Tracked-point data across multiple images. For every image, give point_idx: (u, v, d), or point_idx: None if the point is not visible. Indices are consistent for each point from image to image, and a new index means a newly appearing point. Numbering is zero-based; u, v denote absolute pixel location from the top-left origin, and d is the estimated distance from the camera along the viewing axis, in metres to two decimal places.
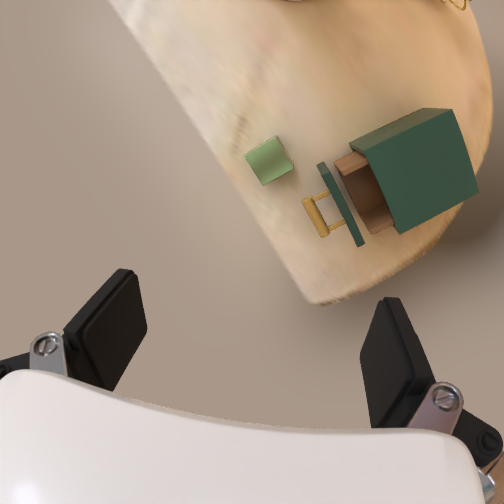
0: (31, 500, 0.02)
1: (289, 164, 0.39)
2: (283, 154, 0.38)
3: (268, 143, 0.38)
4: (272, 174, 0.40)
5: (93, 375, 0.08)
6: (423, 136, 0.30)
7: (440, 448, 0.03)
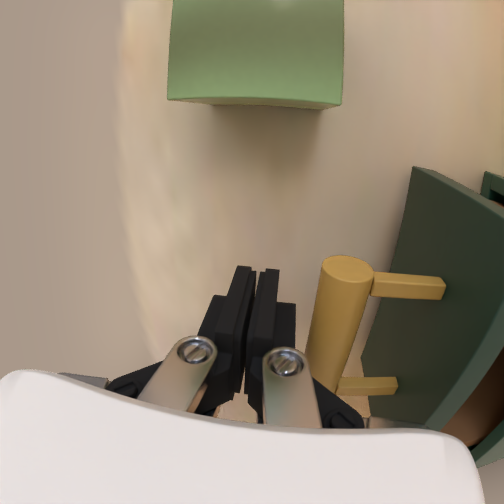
0: (31, 500, 0.02)
1: (336, 77, 0.07)
2: (337, 27, 0.06)
3: None
4: (234, 73, 0.07)
5: (232, 376, 0.08)
6: None
7: (440, 448, 0.03)
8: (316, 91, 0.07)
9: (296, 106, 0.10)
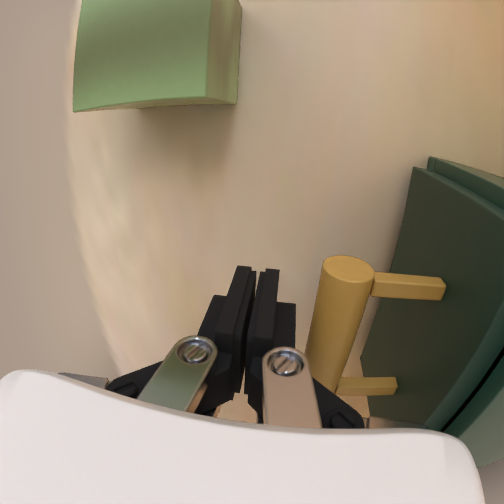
0: (31, 500, 0.02)
1: (200, 71, 0.07)
2: (203, 22, 0.06)
3: None
4: (118, 83, 0.07)
5: (232, 376, 0.08)
6: None
7: (440, 448, 0.03)
8: (182, 87, 0.07)
9: (204, 103, 0.11)
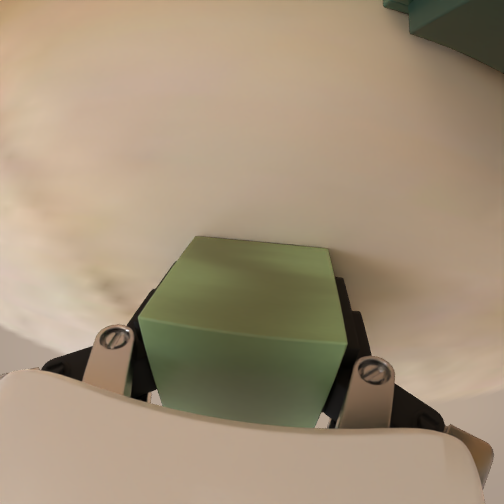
0: (31, 500, 0.02)
1: (312, 347, 0.06)
2: (241, 339, 0.06)
3: (152, 352, 0.07)
4: (296, 411, 0.08)
5: None
6: None
7: (440, 448, 0.03)
8: (328, 363, 0.06)
9: None
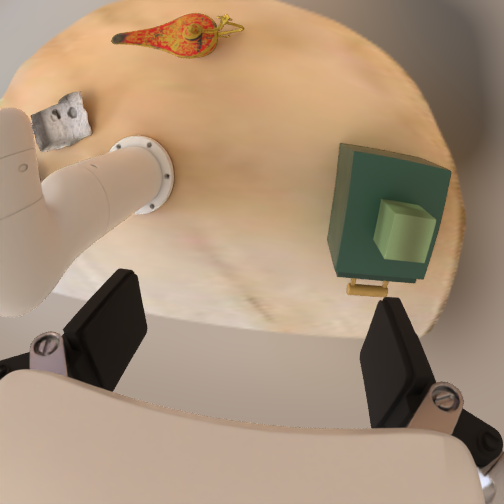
0: (31, 500, 0.02)
1: (430, 220, 0.25)
2: (416, 218, 0.26)
3: (394, 224, 0.26)
4: (424, 245, 0.27)
5: (93, 375, 0.08)
6: (361, 206, 0.31)
7: (440, 448, 0.03)
8: (432, 226, 0.26)
9: None
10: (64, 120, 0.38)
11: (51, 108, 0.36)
